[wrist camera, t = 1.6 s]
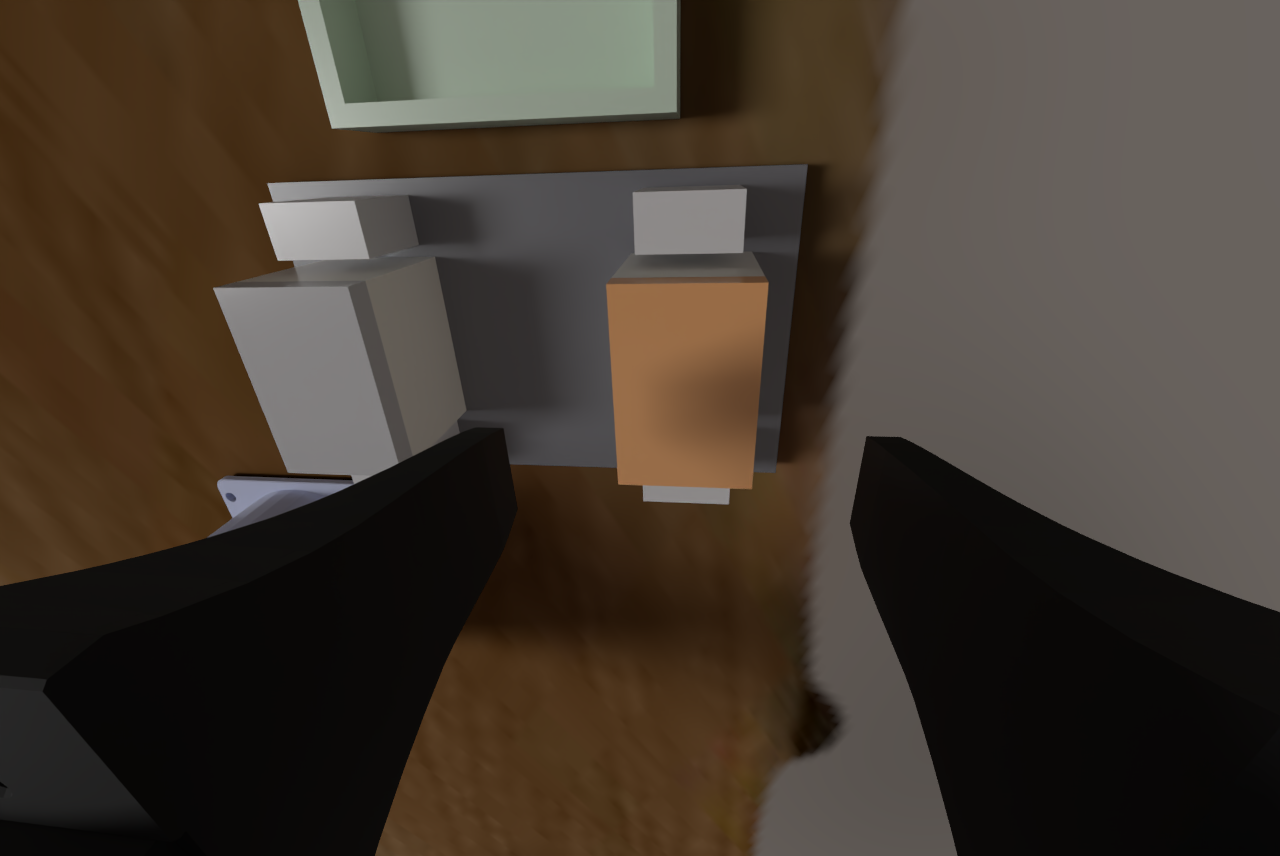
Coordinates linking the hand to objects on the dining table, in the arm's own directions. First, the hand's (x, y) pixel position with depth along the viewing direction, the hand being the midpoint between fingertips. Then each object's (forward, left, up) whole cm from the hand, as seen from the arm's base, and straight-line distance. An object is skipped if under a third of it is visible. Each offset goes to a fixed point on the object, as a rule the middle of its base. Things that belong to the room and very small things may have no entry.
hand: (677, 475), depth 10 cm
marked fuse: (0, 0, -9) cm, 9 cm away
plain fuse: (0, +11, -9) cm, 14 cm away
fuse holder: (0, +6, -10) cm, 11 cm away
